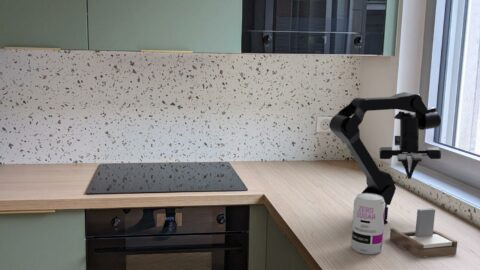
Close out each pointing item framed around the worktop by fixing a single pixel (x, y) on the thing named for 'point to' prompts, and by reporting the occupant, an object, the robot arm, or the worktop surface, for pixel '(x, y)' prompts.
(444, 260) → the worktop surface
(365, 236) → the supplement can
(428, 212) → the lid
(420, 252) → the board
